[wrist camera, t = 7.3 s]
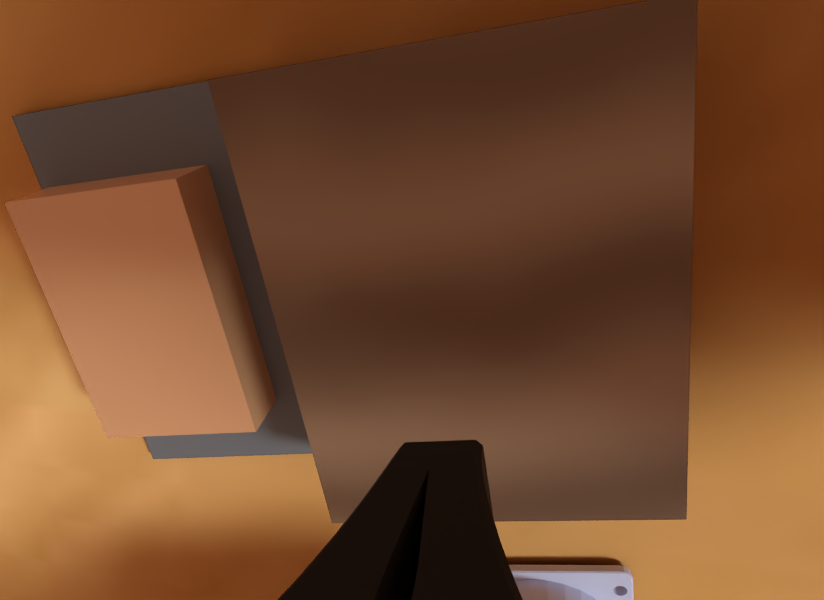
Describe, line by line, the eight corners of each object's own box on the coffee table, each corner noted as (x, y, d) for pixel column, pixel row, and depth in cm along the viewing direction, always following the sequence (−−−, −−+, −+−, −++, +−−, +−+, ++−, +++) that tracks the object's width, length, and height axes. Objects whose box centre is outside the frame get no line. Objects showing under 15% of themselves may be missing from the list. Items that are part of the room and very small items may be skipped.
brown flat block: (656, 435, 21) (686, 519, 17) (360, 446, 23) (332, 522, 20) (655, -1, 16) (697, -9, 12) (268, 69, 18) (207, 79, 14)
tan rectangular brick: (107, 438, 22) (137, 407, 24) (256, 431, 21) (276, 399, 23) (4, 202, 19) (48, 187, 20) (175, 178, 17) (207, 164, 19)
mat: (360, 446, 23) (358, 451, 23) (157, 454, 25) (153, 459, 25) (268, 69, 18) (265, 70, 18) (18, 115, 20) (11, 116, 19)
